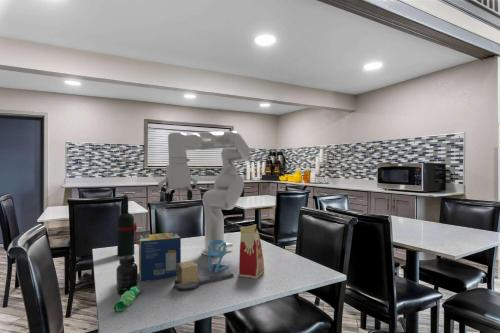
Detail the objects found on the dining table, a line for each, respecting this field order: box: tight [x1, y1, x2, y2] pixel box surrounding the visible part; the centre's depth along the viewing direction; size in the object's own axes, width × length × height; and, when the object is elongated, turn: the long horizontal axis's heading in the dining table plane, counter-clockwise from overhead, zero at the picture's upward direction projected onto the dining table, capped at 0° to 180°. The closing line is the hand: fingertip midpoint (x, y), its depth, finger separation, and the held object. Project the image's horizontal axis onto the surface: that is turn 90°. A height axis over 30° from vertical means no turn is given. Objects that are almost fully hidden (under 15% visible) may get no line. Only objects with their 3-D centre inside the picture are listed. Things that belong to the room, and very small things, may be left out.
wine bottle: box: [117, 193, 139, 258], centre depth 148 cm, size 8×10×30 cm
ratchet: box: [173, 271, 235, 292], centre depth 112 cm, size 23×9×6 cm, turn 123°
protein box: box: [138, 231, 182, 283], centre depth 120 cm, size 10×15×16 cm
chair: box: [206, 240, 230, 274], centre depth 126 cm, size 8×8×12 cm
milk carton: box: [238, 224, 265, 280], centre depth 121 cm, size 9×9×20 cm
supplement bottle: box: [115, 255, 139, 296], centre depth 104 cm, size 7×7×12 cm
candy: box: [112, 285, 141, 313], centre depth 95 cm, size 12×3×4 cm
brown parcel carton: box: [175, 260, 199, 285], centre depth 108 cm, size 6×6×6 cm
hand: (178, 201), depth 129 cm, fingers open, 9 cm apart
